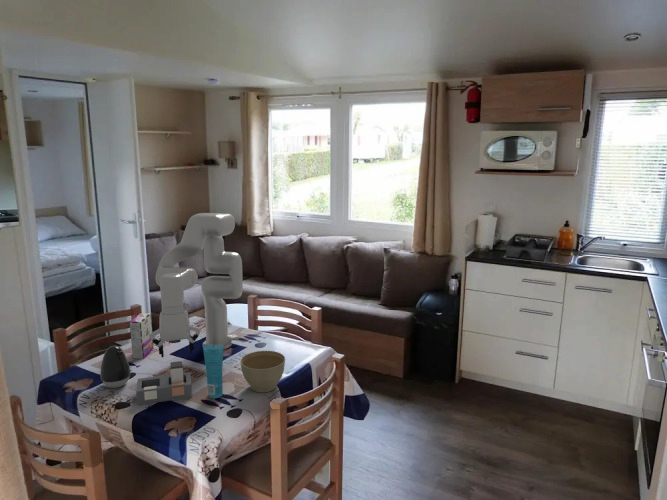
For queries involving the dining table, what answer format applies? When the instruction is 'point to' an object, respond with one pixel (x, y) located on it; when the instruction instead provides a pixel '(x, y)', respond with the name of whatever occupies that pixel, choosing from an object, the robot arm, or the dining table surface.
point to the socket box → (162, 389)
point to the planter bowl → (263, 369)
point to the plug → (176, 372)
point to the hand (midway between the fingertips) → (176, 353)
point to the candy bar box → (141, 335)
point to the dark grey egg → (115, 368)
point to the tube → (214, 369)
